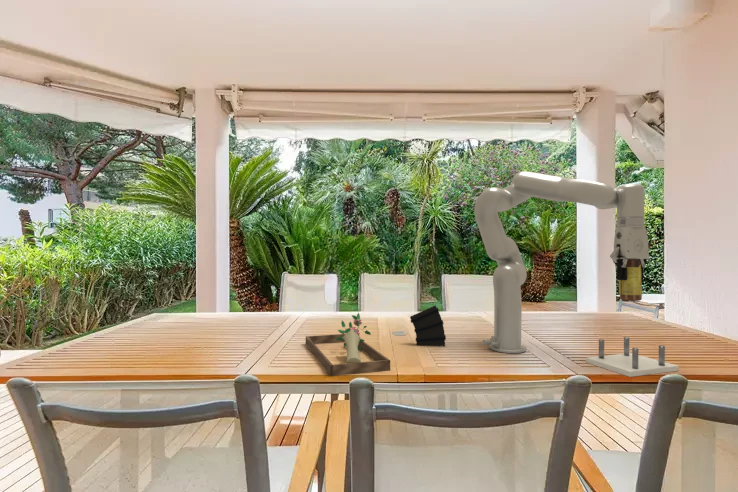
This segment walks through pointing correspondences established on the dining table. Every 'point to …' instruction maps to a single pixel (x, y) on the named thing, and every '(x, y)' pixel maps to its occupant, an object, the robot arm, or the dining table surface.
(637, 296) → the sauce bottle
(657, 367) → the standoff base
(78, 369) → the dining table surface
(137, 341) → the dining table surface
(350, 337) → the flower vase
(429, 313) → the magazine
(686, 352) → the dining table surface
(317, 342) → the wooden frame
